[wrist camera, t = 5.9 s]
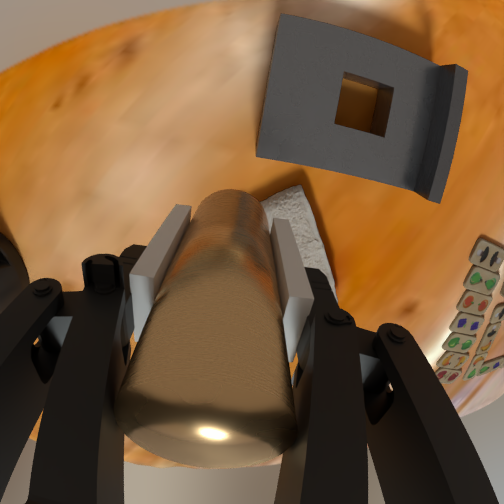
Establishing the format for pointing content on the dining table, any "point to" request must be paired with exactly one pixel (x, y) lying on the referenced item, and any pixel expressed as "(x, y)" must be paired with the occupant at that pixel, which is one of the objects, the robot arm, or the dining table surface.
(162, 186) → the dining table surface
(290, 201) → the washcloth
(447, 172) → the jig
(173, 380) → the tan cylinder
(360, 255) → the dining table surface
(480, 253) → the pile of dominoes
